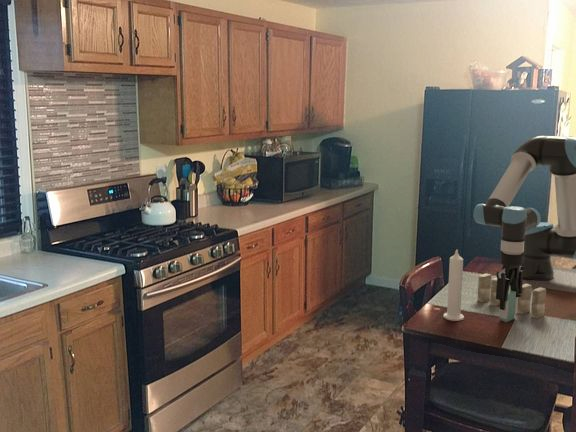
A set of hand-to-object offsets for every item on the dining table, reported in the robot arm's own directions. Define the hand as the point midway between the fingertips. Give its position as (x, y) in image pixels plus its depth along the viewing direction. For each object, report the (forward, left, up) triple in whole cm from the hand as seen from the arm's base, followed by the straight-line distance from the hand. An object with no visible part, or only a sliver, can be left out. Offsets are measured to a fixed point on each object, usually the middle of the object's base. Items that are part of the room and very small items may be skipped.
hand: (507, 316), depth 206 cm
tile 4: (-11, -12, -1) cm, 16 cm away
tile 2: (-11, -1, -1) cm, 11 cm away
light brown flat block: (-11, -17, -1) cm, 20 cm away
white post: (+13, -13, -1) cm, 18 cm away
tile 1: (-11, +5, -1) cm, 12 cm away
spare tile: (0, 0, -1) cm, 1 cm away
